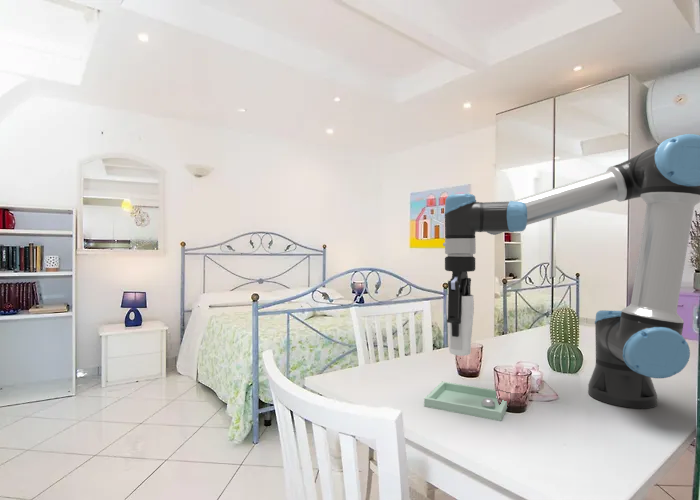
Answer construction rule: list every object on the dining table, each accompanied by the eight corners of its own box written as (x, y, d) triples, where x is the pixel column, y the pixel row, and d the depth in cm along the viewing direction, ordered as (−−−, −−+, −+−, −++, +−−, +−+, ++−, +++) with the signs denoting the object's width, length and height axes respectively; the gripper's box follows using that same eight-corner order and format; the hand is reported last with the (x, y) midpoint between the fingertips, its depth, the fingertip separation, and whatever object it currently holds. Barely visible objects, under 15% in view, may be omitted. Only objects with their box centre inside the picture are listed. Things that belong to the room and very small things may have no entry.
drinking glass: (475, 357, 100) (475, 296, 100) (446, 356, 101) (446, 295, 101) (472, 351, 107) (472, 293, 107) (445, 349, 108) (445, 293, 108)
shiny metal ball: (496, 410, 98) (496, 397, 98) (494, 415, 95) (494, 401, 95) (482, 408, 99) (482, 395, 99) (480, 412, 97) (480, 399, 97)
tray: (510, 401, 105) (510, 392, 105) (501, 423, 92) (500, 412, 92) (442, 390, 114) (442, 381, 114) (424, 408, 101) (424, 398, 101)
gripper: (455, 255, 114) (455, 337, 114) (433, 256, 97) (433, 352, 97) (483, 255, 110) (482, 340, 110) (465, 256, 94) (465, 356, 94)
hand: (459, 346), depth 104 cm, fingers closed on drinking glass, 6 cm apart
